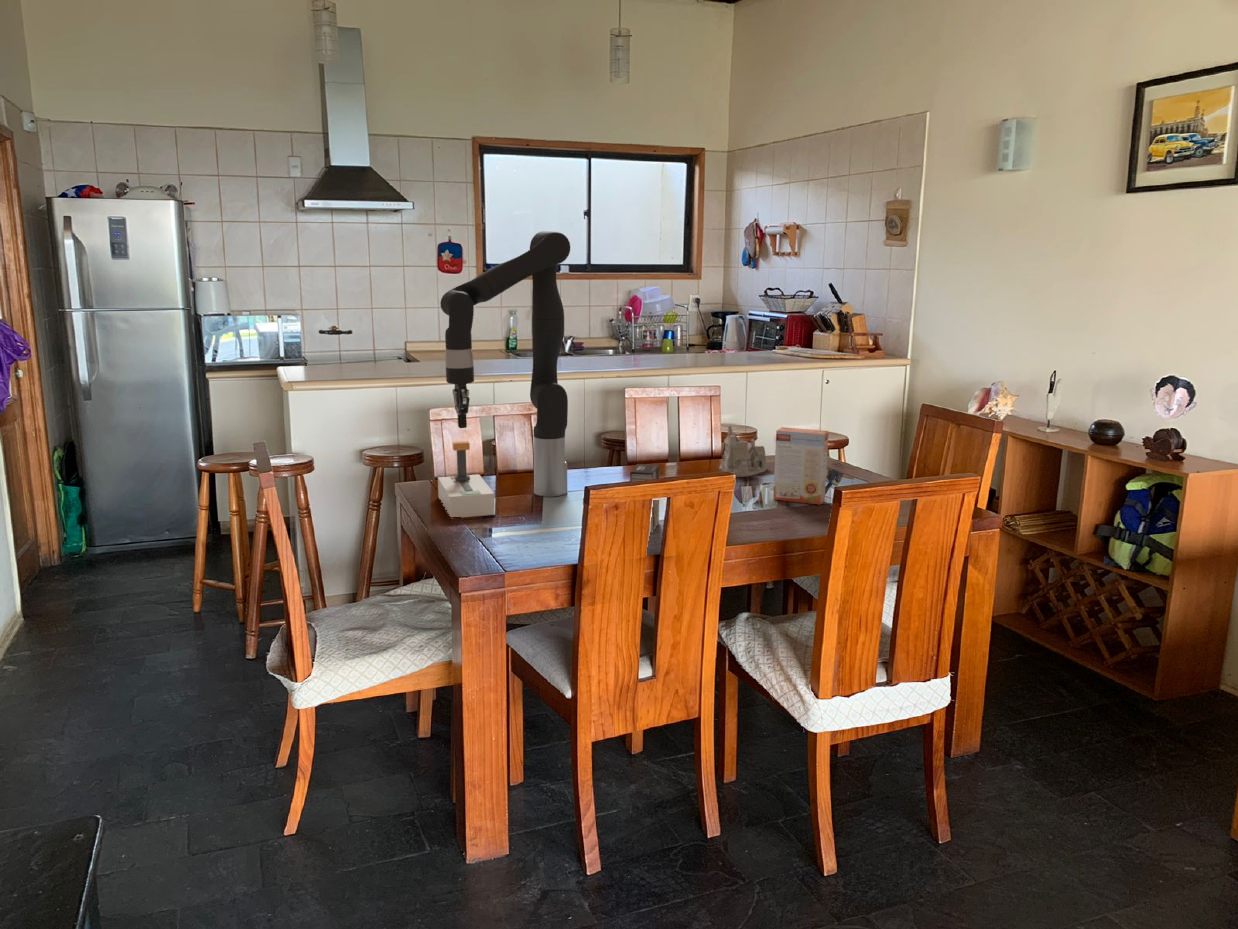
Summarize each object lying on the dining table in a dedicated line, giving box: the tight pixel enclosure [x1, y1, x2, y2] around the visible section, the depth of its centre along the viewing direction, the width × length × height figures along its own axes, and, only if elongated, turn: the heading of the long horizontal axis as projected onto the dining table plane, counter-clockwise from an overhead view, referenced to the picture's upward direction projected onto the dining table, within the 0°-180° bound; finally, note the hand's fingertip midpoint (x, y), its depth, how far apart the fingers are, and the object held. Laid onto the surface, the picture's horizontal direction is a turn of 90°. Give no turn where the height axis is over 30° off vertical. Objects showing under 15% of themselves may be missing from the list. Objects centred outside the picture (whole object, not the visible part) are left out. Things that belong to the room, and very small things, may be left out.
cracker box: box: [773, 426, 829, 506], centre depth 267 cm, size 14×6×21 cm, turn 65°
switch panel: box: [437, 474, 496, 518], centre depth 260 cm, size 12×22×6 cm, turn 19°
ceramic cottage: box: [718, 424, 767, 478], centre depth 302 cm, size 16×16×15 cm
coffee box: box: [629, 463, 661, 532], centre depth 241 cm, size 9×6×16 cm
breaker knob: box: [452, 440, 470, 481], centre depth 263 cm, size 4×3×11 cm
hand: (462, 427), depth 257 cm, fingers closed
